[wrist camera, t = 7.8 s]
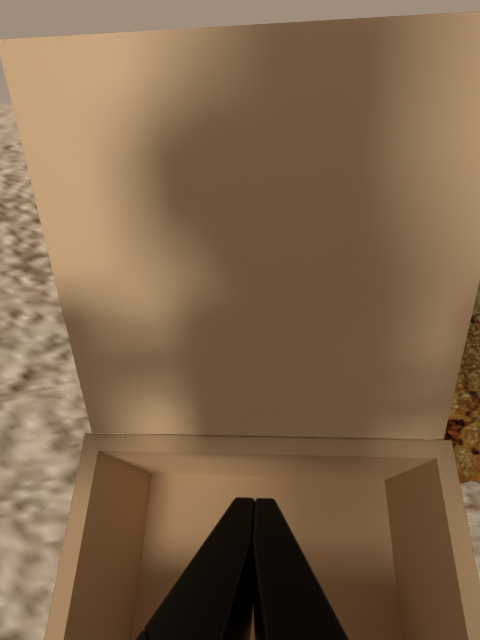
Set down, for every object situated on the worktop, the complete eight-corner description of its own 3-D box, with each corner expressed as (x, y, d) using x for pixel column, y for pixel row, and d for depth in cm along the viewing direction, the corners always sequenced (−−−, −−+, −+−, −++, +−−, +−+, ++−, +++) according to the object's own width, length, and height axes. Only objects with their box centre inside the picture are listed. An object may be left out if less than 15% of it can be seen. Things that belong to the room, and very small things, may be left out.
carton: (433, 799, 16) (564, 1020, 9) (104, 771, 17) (-18, 949, 10) (392, 469, 21) (451, 440, 14) (144, 463, 22) (85, 433, 15)
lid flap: (541, 7, 9) (523, 15, 9) (-4, 39, 10) (13, 45, 10) (443, 439, 14) (436, 425, 15) (92, 432, 15) (99, 420, 16)
